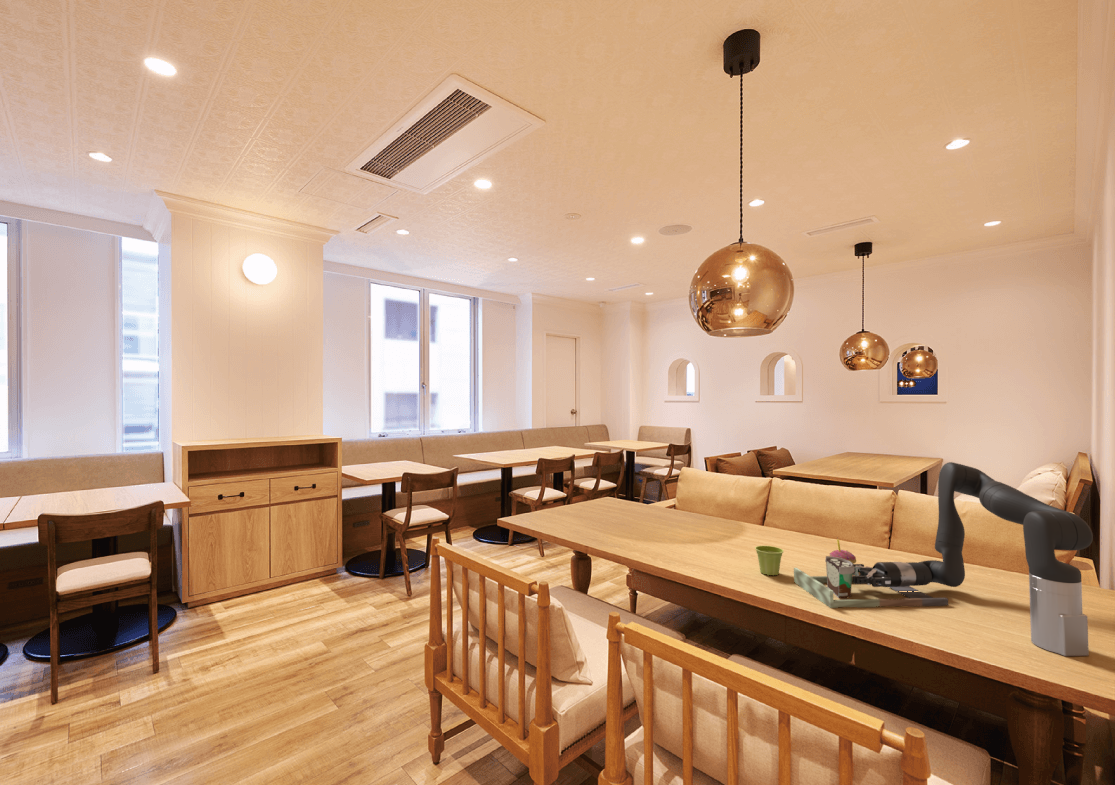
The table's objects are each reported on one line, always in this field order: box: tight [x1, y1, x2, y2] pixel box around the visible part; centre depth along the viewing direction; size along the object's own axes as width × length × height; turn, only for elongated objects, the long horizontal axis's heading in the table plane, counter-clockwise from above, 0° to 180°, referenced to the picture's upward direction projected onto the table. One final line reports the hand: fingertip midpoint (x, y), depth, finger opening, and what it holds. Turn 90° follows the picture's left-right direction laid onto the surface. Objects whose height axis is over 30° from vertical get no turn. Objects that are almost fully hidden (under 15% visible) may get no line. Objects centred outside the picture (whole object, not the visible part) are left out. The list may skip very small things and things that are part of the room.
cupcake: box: [829, 537, 857, 564], centre depth 179 cm, size 9×8×12 cm
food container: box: [825, 555, 855, 599], centre depth 158 cm, size 12×6×10 cm, turn 170°
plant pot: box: [754, 545, 785, 576], centre depth 176 cm, size 9×9×9 cm
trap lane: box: [793, 567, 949, 609], centre depth 157 cm, size 21×36×5 cm, turn 92°
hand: (844, 575), depth 157 cm, fingers open, 8 cm apart
